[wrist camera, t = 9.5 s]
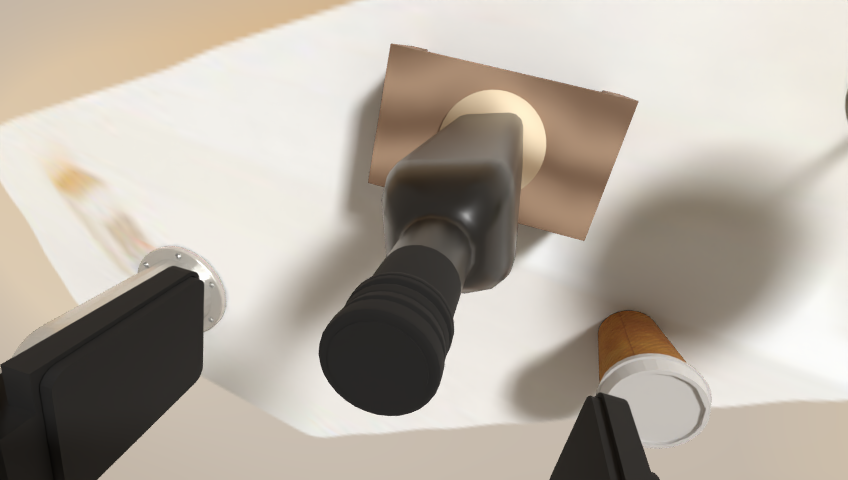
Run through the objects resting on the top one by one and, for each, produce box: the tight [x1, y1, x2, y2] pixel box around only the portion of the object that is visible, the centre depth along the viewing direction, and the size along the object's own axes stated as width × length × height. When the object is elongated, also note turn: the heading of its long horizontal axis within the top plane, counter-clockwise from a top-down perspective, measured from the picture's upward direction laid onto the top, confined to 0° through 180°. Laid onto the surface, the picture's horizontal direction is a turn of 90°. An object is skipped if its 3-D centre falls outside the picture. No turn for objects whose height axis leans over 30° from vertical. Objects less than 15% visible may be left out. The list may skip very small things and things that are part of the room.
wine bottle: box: [319, 113, 523, 416], centre depth 24 cm, size 6×6×30 cm
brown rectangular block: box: [368, 44, 638, 241], centre depth 42 cm, size 12×20×8 cm, turn 78°
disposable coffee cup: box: [596, 311, 712, 448], centre depth 45 cm, size 10×10×12 cm
